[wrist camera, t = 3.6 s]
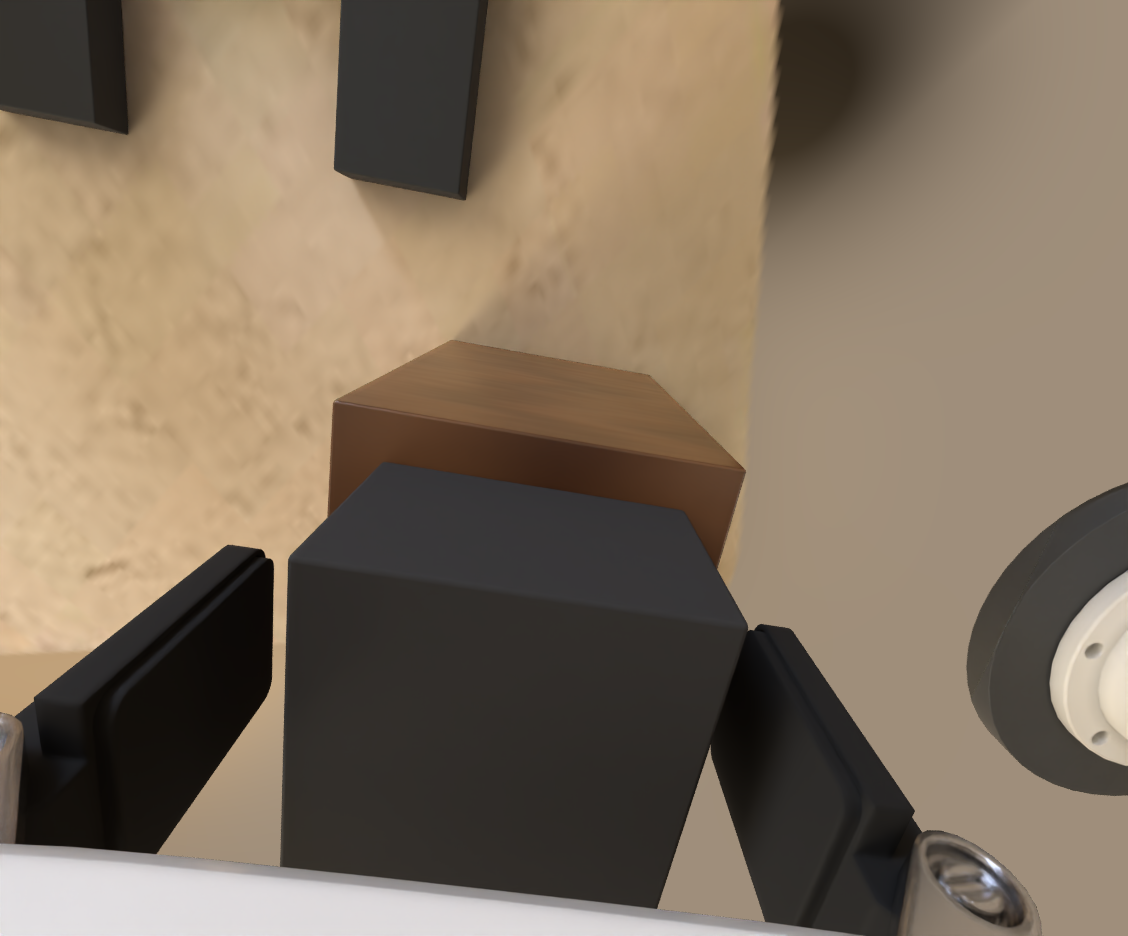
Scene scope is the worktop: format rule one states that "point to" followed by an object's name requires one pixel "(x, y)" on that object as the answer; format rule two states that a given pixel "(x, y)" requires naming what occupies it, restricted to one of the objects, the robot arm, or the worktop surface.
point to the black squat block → (500, 687)
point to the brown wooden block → (537, 433)
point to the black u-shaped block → (364, 94)
